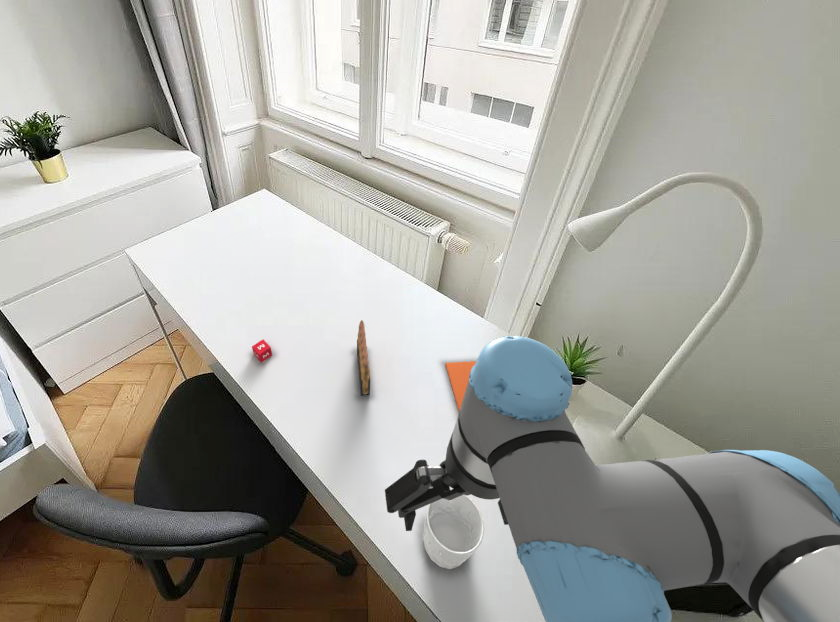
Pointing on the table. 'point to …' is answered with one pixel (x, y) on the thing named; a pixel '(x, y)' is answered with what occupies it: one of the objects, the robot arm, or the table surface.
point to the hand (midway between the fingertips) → (455, 516)
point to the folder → (459, 378)
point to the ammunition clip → (363, 361)
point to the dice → (262, 351)
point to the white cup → (452, 531)
